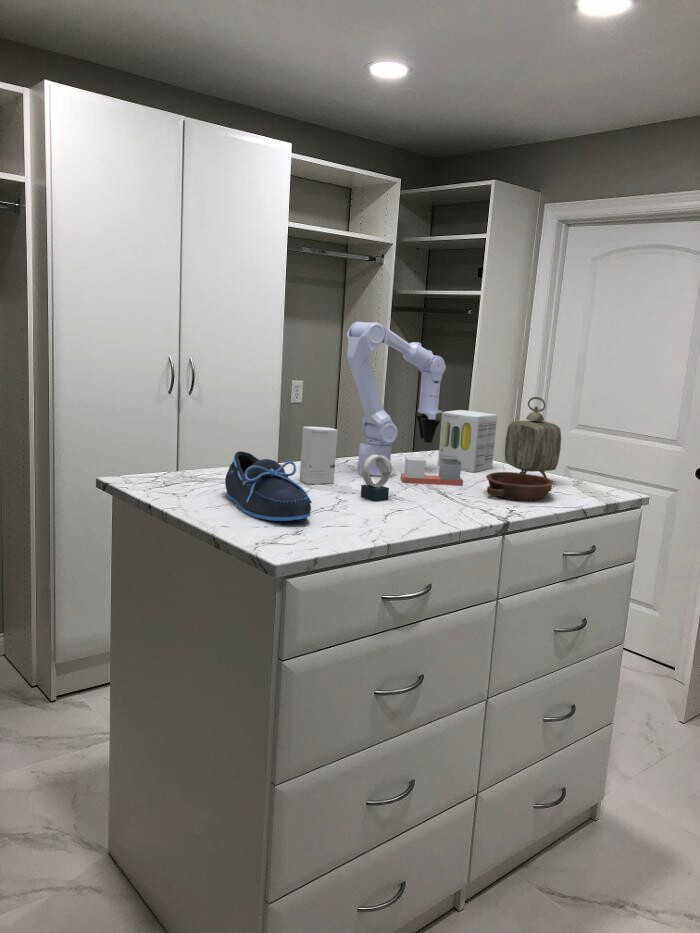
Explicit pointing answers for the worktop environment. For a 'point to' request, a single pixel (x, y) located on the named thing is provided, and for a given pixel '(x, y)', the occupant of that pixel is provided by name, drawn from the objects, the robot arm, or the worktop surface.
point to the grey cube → (450, 469)
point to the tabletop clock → (533, 443)
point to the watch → (378, 490)
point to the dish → (518, 486)
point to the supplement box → (468, 439)
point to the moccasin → (266, 489)
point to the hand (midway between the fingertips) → (425, 440)
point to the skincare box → (318, 455)
